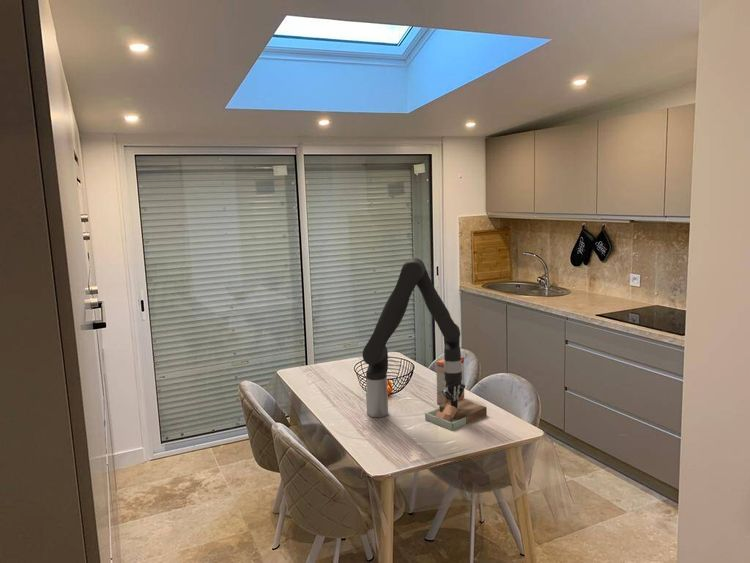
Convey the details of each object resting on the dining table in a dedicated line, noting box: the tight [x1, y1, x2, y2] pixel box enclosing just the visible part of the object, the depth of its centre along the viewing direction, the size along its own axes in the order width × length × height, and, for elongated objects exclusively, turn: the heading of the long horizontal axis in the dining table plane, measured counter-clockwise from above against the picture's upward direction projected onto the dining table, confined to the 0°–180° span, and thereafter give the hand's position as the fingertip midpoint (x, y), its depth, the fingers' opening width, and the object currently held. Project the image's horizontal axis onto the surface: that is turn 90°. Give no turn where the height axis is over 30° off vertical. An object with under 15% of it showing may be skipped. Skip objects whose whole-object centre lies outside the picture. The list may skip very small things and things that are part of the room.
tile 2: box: [442, 404, 458, 419], centre depth 234 cm, size 4×4×2 cm
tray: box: [424, 407, 467, 431], centre depth 233 cm, size 16×9×3 cm, turn 39°
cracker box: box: [435, 355, 465, 405], centre depth 256 cm, size 14×6×21 cm, turn 132°
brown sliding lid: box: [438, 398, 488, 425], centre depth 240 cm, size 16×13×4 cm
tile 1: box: [435, 411, 451, 421], centre depth 232 cm, size 4×4×2 cm
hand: (454, 408), depth 237 cm, fingers closed
